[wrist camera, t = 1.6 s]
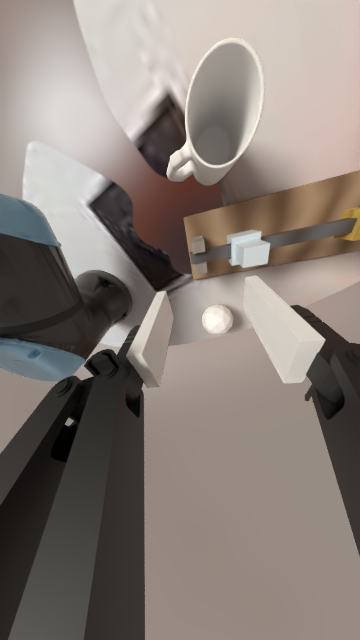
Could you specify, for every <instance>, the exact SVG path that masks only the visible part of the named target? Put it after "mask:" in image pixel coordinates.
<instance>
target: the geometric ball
mask: <svg viewBox="0 0 360 640" xmlns="http://www.w3.org/2000/svg"><path fill="white" fill-rule="evenodd" d="M233 319H234V317H233V315H232V313H231V311H230V310H229V309H228V308H226V307H225V306H223V305H217V304H215V305H213V306H211V307H208V308H207V309H206V310H205V312H204V314H203V316H202V323H203V327H204V328H205V329H206V330H207V331H208V332H209V333H211V334H216V335H221V334H224V333H226V332H227V331H228V330H229V329H230V328H231V327H232V324H233Z"/></svg>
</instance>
